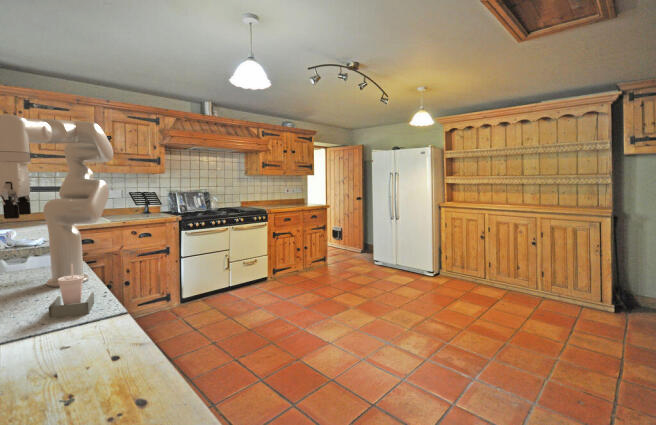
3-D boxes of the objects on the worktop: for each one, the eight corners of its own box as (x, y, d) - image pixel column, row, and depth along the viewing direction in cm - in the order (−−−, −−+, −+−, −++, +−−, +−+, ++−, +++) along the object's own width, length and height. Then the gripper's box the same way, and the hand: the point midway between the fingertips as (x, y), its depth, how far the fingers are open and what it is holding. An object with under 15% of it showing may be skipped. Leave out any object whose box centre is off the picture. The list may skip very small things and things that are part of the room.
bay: (58, 307, 104) (57, 296, 104) (94, 303, 108) (93, 292, 108) (49, 319, 96) (48, 307, 96) (88, 313, 100) (87, 302, 99)
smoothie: (71, 313, 98) (69, 267, 97) (53, 311, 99) (50, 265, 98) (91, 305, 105) (88, 261, 103) (73, 304, 106) (71, 260, 104)
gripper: (8, 158, 105) (13, 213, 107) (-18, 157, 90) (-12, 220, 92) (39, 159, 108) (43, 212, 110) (19, 158, 93) (24, 219, 95)
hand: (18, 216), depth 101 cm, fingers open, 9 cm apart
